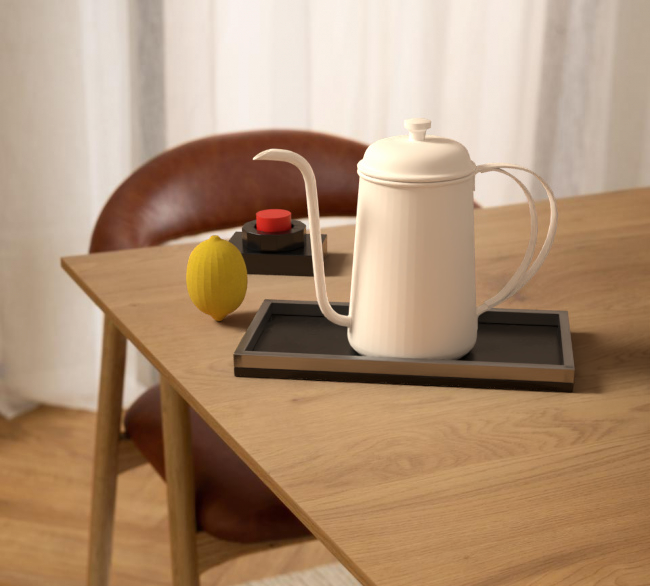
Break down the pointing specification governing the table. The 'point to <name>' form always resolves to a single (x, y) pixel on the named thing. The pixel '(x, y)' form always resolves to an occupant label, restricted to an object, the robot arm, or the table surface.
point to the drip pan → (468, 371)
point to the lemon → (216, 277)
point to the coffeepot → (415, 246)
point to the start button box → (277, 250)
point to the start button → (273, 220)
